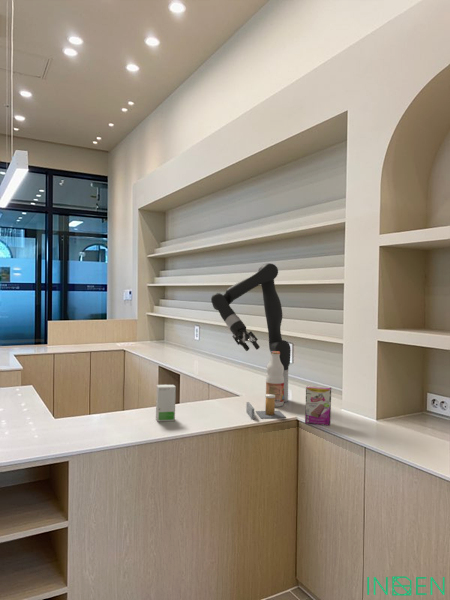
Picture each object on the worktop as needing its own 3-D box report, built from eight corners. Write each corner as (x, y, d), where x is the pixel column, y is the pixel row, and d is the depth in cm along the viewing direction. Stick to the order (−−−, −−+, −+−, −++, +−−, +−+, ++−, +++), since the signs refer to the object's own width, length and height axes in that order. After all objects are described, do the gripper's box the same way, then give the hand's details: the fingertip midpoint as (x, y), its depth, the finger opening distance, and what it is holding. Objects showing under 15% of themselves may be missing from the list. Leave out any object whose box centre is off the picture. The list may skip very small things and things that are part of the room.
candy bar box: (304, 423, 200) (305, 387, 199) (305, 420, 204) (306, 385, 204) (330, 426, 197) (331, 388, 196) (331, 422, 201) (331, 386, 201)
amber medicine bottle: (264, 412, 216) (264, 394, 216) (273, 412, 216) (274, 394, 216) (266, 415, 211) (266, 396, 211) (275, 415, 212) (276, 396, 212)
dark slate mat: (255, 411, 219) (255, 411, 219) (279, 411, 221) (279, 410, 221) (261, 418, 207) (261, 417, 207) (286, 417, 209) (286, 417, 209)
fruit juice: (262, 403, 236) (263, 350, 235) (277, 402, 240) (278, 350, 240) (271, 407, 227) (272, 353, 227) (287, 406, 231) (287, 352, 231)
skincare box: (157, 422, 199) (157, 387, 199) (155, 418, 206) (155, 384, 206) (175, 420, 202) (176, 386, 202) (173, 417, 208) (173, 383, 208)
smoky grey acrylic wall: (246, 412, 218) (246, 402, 218) (248, 412, 218) (248, 401, 218) (251, 419, 205) (251, 408, 205) (254, 419, 206) (254, 408, 205)
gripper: (230, 320, 220) (249, 345, 213) (248, 319, 231) (266, 343, 224) (222, 330, 224) (240, 355, 217) (239, 329, 235) (257, 352, 228)
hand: (253, 349), depth 220 cm, fingers open, 8 cm apart
